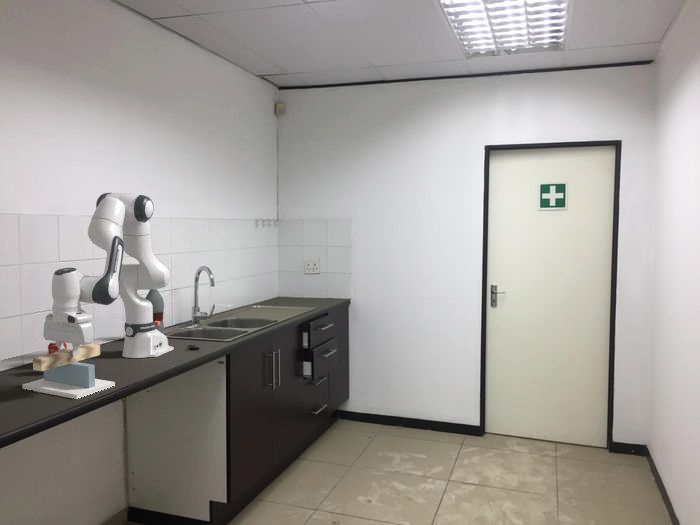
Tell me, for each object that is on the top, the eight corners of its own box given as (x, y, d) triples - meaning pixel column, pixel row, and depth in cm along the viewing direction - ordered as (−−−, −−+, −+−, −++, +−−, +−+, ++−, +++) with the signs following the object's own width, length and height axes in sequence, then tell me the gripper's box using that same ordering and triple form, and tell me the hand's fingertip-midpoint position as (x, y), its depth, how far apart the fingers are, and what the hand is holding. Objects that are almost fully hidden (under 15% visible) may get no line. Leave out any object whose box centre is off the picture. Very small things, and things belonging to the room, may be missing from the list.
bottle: (168, 338, 283) (167, 277, 281) (157, 342, 275) (156, 279, 272) (151, 337, 286) (150, 276, 283) (140, 341, 277) (139, 278, 274)
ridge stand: (62, 377, 216) (61, 353, 215) (114, 386, 205) (114, 361, 204) (22, 388, 201) (21, 363, 200) (76, 399, 191) (76, 372, 190)
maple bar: (41, 371, 191) (41, 359, 190) (33, 370, 192) (32, 358, 192) (100, 354, 213) (99, 343, 212) (92, 353, 214) (91, 343, 214)
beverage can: (62, 369, 227) (61, 338, 226) (70, 372, 223) (69, 341, 222) (46, 372, 222) (44, 341, 221) (53, 375, 218) (52, 343, 217)
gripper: (37, 314, 203) (39, 353, 204) (80, 319, 194) (81, 360, 195) (53, 311, 208) (55, 349, 209) (95, 316, 200) (96, 355, 201)
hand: (68, 354), depth 202 cm, fingers open, 4 cm apart
